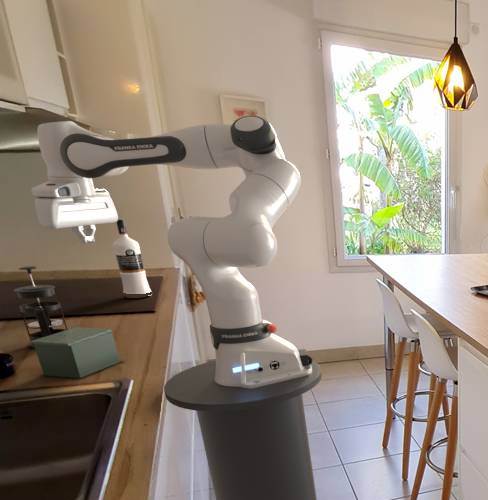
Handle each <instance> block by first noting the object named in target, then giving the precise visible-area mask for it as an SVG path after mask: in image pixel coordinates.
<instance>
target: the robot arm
mask: <svg viewBox="0 0 488 500" xmlns="http://www.w3.org/2000/svg"><path fill="white" fill-rule="evenodd" d="M36 132H37V141H38V145H39V150H40V154H41V156H42V159H43V161H44V163H45V165H46V167H47V172H46V173H47V174H46V175H47V178H48V180H47V181H45V182H43V183H40V184H39V185H36V186H33V187H32V188H31V190H30V191H31V194H32V196H33V197H34V198H35V200H34V207H35V212H36V216H37V219H38V222H39V224H40V226H42V227H43V228H44V229H50V230H56V229H57V230H58V229H65V228H66V229H67V228H71V231H72V233H74V234H75V235H76V237H77V238H78V242H79V243H80V244H91V243H95V242H96V240H95V233H96V230H97V228H96V225H102V224H112V223H116V222H117V220H119V215H118V211H117V209H116V206H115V203H114V201H113V199H112V198H111V194H110V192H109V191H107V190H106V189H105V188H104V187H95V185H94V181H93V179H96V178H100V177H101V178H102V177H114V176H115V177H116V176H120V175H122V174H125V173H126V172H127V171H128V170H129V169H130V167H139V166H151V165H160V166H161V165H162V166H170V167H171V166H172V167H180V168H186V169H194V170H222V169H229V168H238V169H239V168H240V169H242V172H243V173H244V175H245V178H244V179H243V180H242V182H240V183H239V185H237V187H236V188H235V189H234V190H233V191H232V192H230V194H229V197H228V204H229V208H230V211H231V213H229V214H228V215H226V216H222V217H215V216H201V215H200V216H199V215H198V216H197V215H195V216H189V217H184V218H180V219H177V220H175V221H173V222H172V223H171V225H170V226H169V228H168V230H167V243H168V246H169V249H170V251H172V253H173V254H174V255H175V256H176V257H178V258H179V260H181V261H183V263H184V264H185V265H187V267H188V268H189V270H190V271H191V272H192V274H193V276H194V277H195V278H196V281H197V282H198V284H199V286H200V288H201V290H202V293H203V295H204V298H205V302H206V307H207V311H208V315H209V321H210V325H209V334H210V341H211V344H212V346H213V348H214V353H215V360H216V372H215V379H214V381H215V382H216V383H217V384H219V385H223V386H232V387H243V388H248V389H252V388H257V387H261V386H265V385H269V384H273V383H278V382H282V381H286V380H290V379H294V378H299V377H303V376H307V375H309V374H310V373H311V372H312V367H311V363H312V361H314V360H313V357H311V356H310V355H308V352H307V349H306V348H301V349H298V348H297V347H296V345H294V344H293V343H292V342H291V341H288V340H286V339H285V338H283V337H280V336H278V335H277V334H275V333H276V331H277V329H278V328H277V326H276V325H275V324H274V323H272V322H271V321H269V320H267V319H264V318H263V316H262V312H261V305H260V298H259V293H258V290H257V289H256V287H254V285H253V284H251V282H249V281H248V280H247V279H245V277H244V276H243V275H242V274H241V272H240V270H239V269H253V268H255V269H256V268H260V267H266V266H268V265H270V264H271V263H272V262H273V261H274V260H275V258H276V256H277V252H278V241H277V238H276V236H275V233H274V232H273V227H274V226H275V224H276V223H277V222H278V220H279V219H280V217H281V216H282V215H283V214H284V213H285V212H286V211H287V210H288V208H289V207H290V205H291V204H292V202H293V201H294V199H295V198H296V196H297V194H298V192H299V190H300V187H301V185H302V178H301V174H300V172H299V170H298V168H297V167H296V166H295V165H294V164H293V163H291V161H288V160H286V158H285V154H284V152H283V149H282V147H281V144H280V141H279V140H278V137H277V133H276V131H275V129H274V128H273V126H272V125H271V123H270V122H269V120H267V119H265V118H263V117H260V116H257V115H245V116H242V117H239V118H237V119H235V121H234V122H233V123H232V124H226V123H225V124H222V123H221V124H220V123H218V124H217V123H216V124H215V123H214V124H212V123H211V124H200V125H194V126H189V127H188V126H187V127H184V128H179V129H177V130H173V131H170V132H165V133H162V134H158V135H153V136H148V137H147V136H146V137H135V138H122V139H121V138H120V139H114V138H111V137H109V136H106V135H102V134H98V133H96V132H93V131H90V130H88V129H86V128H83V126H80V125H78V124H77V123H75V122H74V121H72V120H67V119H59V120H57V119H55V120H47V121H43V122H41V123H40V124H39V125H37V131H36ZM84 229H85V233H84ZM308 360H309V361H308Z"/></svg>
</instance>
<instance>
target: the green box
mask: <svg viewBox="0 0 488 500" xmlns="http://www.w3.org/2000/svg"><path fill="white" fill-rule="evenodd" d="M34 347H35V348H34V350H35V352H36V356H37V358H38V361H39V365H40V368H41V371H42V375H43V376H46V377H47V376H49V377H60V378H61V377H62V378H75V379H82V378H84V377H87V376H89V375H92V374H95V373H96V372H99V371H101V370H105V369H107V368H109V367H112V366H114V365H117V364H119V363H121V360H120V355H119V352H118V348H117V345H116V341H115V338H114V334H113V331H112V332H110V333H107V334H104V335H101V336H98V337H95V338H92V339H89V340H86V341H83V342H80V343H77V344H74V345H71V346H55V345H41V344H34Z"/></svg>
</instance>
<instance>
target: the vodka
mask: <svg viewBox="0 0 488 500" xmlns="http://www.w3.org/2000/svg"><path fill="white" fill-rule="evenodd" d="M115 224H116V227H117V232H118V235H119V238H117V239H116V240H115V241H113V243H112V249H113V251H114V255H115V259H116V263H117V267H118V269H119V275H120V279H121V284H122V294H123V293H126V294H146V293H150V292H152V289H151V288H150V285H149V282H148V279H147V275H146V274H147V273H146V270H145V267H144V262H143V259H142V254H141V248H140V244H139V242H138V241H137V240H134V239H133V238H131V237H129V235H128V232H127V227H126V223H125V220H124V219H118V220H117V222H115ZM152 295H153V293H152V294H151V295H148V296H150V297H151V296H152Z"/></svg>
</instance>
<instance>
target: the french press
mask: <svg viewBox="0 0 488 500" xmlns="http://www.w3.org/2000/svg"><path fill="white" fill-rule="evenodd" d="M38 268H39V267H38V266H35V265H28V266H21V267H19V268H18V270H19V271H20V270H21V271H26V273H27V275H29V277H30V280H31V283H32V285H26V286H19V287H17V288H14V289H13V292H14V293H16V294H17V298H18V299H24V300H27V299H28V300H29V299H32V300H33V299H36V300H37V301H34V302H27V303H24V304H21V305H19V306H18V307H19V310H20V314H21V317H22V320H23V322H24V326H25V328H26V332H27V335H28V337H29V342H30V341H33V340H36V339H39V338H43V337H46V336H49V335H52V334H56V333H59V332H62V331H65V330H69V329H68V326H67V322H66V318H65V316H64V311H63V309H62V306H61V302H60V301H56V300H44V301H41V300H40V299H42V298H48V297H53V296H54V295H56V293H55V290H54V289H55V288H56V286H55V285H52V284H35V281H34V278H33V270H35V269H36V270H37V269H38ZM59 309H60V313H61V316H62V319H55V318H54V319H51V318H50V313H49V312H52V311H56V310H59ZM25 314H35V317H36V320H37V321H33V322H29V323H27V320H26V318H25ZM62 325H64V326H65V328H57V327H59V326H62ZM55 327H56V328H55ZM29 329H31V330H39V331H35V332H31V333H30V330H29ZM30 347H31V348H33V349H35V347H34V344H31V343H30Z"/></svg>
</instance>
